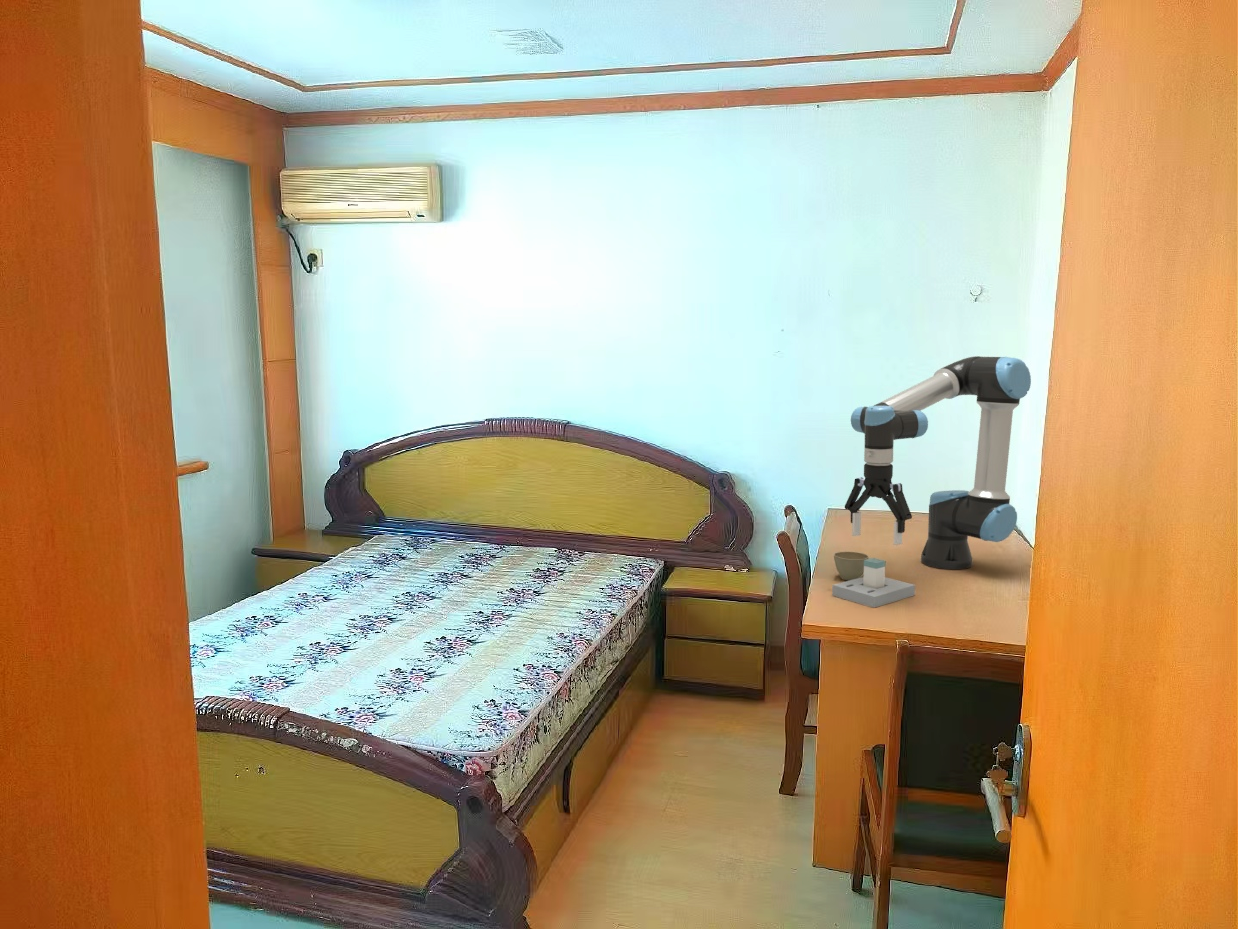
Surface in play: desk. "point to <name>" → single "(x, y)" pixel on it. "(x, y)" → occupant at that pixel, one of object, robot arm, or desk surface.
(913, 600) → the desk surface
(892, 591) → the outlet plate
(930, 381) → the robot arm
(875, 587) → the block
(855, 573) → the flower pot
